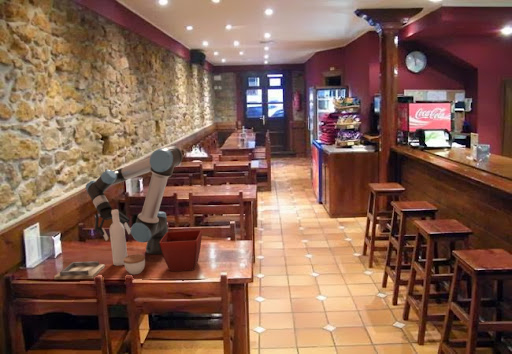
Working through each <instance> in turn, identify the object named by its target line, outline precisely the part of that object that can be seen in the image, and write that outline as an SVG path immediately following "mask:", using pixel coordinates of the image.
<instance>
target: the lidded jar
mask: <svg viewBox="0 0 512 354" xmlns="http://www.w3.org/2000/svg"><path fill="white" fill-rule="evenodd" d="M123 260H124V268H125V270H126V272H127V273H129V274H130V275H139V274H141V273H142V272H143V271H144V269H145V266H146V256H145V254H144V255H143V254H132V255H127V257H125V258H124V259H123Z"/></svg>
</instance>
